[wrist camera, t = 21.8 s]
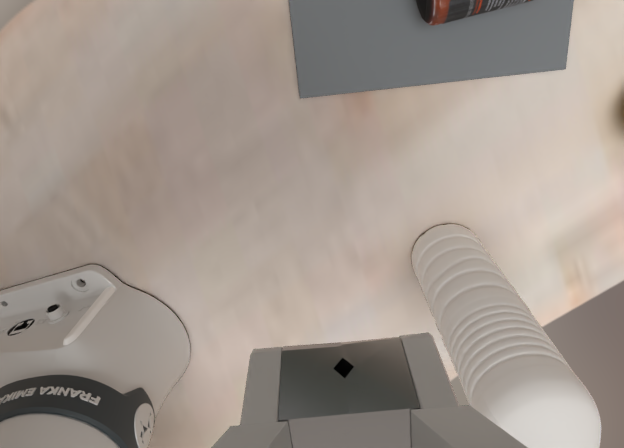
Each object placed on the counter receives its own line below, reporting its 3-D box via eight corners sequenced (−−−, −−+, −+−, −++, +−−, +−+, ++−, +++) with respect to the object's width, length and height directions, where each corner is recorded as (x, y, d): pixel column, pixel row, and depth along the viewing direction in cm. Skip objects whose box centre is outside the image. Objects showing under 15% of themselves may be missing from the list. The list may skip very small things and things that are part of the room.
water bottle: (450, 208, 43) (612, 440, 21) (493, 253, 45) (683, 508, 23) (378, 268, 46) (452, 534, 23) (421, 308, 48) (529, 587, 25)
